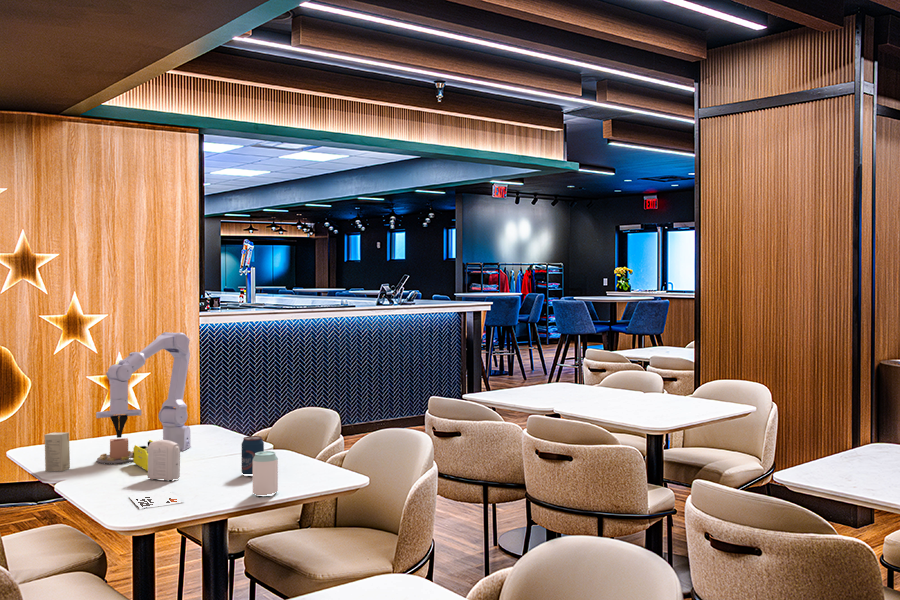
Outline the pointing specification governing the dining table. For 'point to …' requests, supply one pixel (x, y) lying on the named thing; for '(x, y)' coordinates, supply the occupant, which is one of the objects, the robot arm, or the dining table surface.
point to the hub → (111, 460)
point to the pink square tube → (119, 448)
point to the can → (265, 473)
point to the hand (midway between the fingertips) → (119, 437)
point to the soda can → (250, 452)
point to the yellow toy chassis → (141, 456)
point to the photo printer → (163, 460)
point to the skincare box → (57, 452)
